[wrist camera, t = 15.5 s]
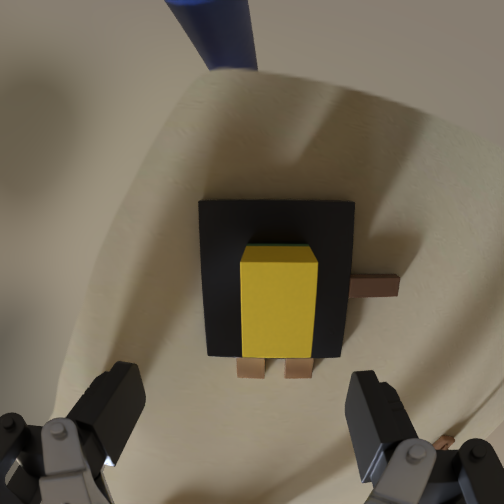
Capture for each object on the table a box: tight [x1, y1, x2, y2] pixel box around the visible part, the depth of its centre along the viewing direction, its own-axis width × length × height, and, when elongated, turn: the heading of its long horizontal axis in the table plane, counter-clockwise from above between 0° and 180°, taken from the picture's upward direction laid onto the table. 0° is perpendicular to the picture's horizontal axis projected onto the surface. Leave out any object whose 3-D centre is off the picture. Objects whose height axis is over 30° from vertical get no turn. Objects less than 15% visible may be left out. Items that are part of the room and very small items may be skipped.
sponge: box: [240, 244, 318, 358], centre depth 25 cm, size 8×6×6 cm
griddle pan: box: [198, 199, 400, 359], centre depth 28 cm, size 16×19×2 cm
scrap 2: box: [284, 358, 314, 378], centre depth 31 cm, size 3×3×1 cm
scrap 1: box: [236, 358, 265, 379], centre depth 31 cm, size 3×3×1 cm
